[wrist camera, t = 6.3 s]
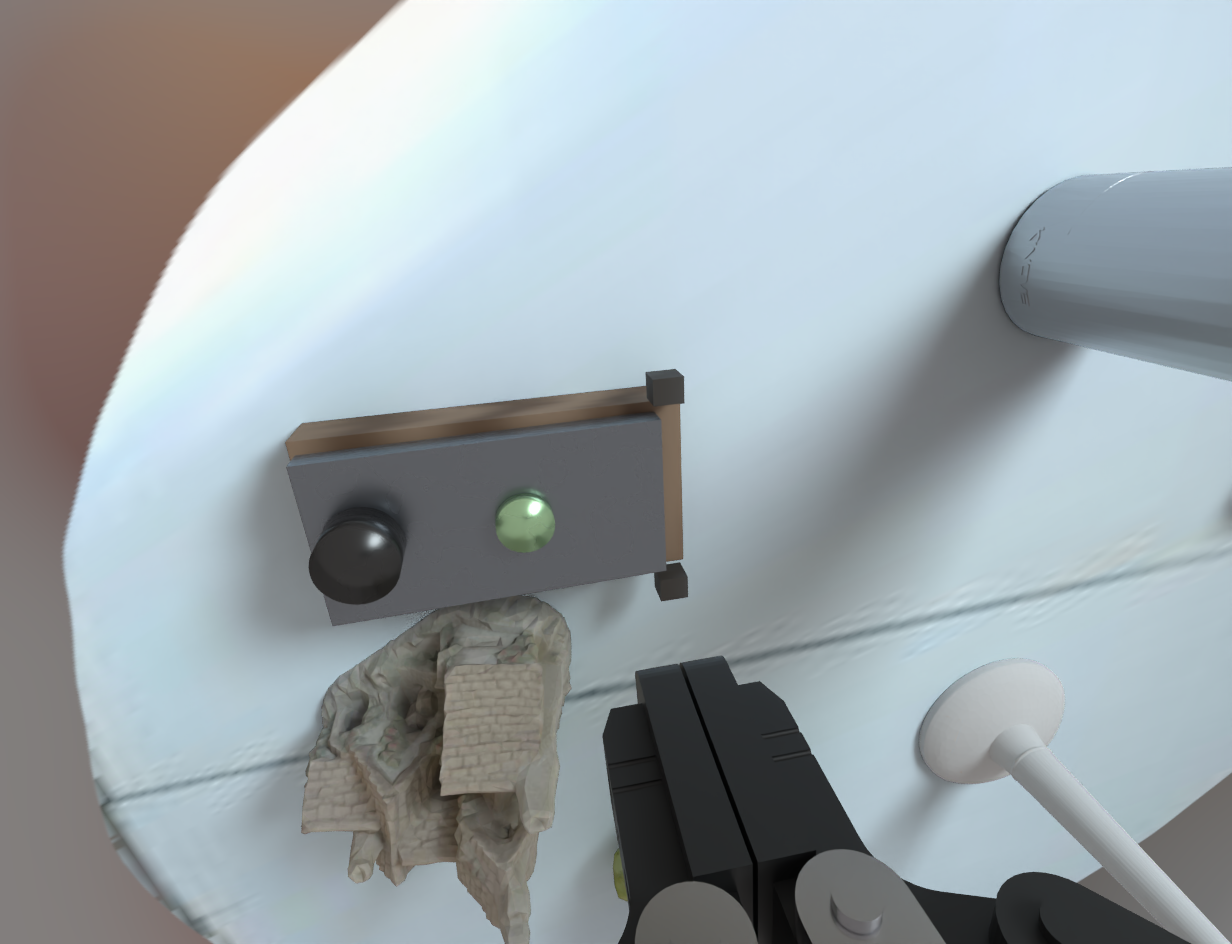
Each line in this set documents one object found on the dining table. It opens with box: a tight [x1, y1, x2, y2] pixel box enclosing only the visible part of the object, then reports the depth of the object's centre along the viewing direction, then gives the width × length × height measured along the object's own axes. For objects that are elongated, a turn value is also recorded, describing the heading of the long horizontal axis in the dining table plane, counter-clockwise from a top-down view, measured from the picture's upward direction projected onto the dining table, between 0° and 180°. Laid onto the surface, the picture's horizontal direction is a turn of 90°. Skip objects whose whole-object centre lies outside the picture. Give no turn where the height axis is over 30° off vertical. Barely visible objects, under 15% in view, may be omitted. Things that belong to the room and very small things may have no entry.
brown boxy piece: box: [285, 369, 688, 601], centre depth 35 cm, size 20×13×5 cm, turn 93°
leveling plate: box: [287, 411, 666, 626], centre depth 32 cm, size 18×9×4 cm, turn 93°
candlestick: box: [919, 658, 1230, 944], centre depth 39 cm, size 13×13×30 cm
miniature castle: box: [301, 595, 571, 944], centre depth 36 cm, size 16×16×15 cm
